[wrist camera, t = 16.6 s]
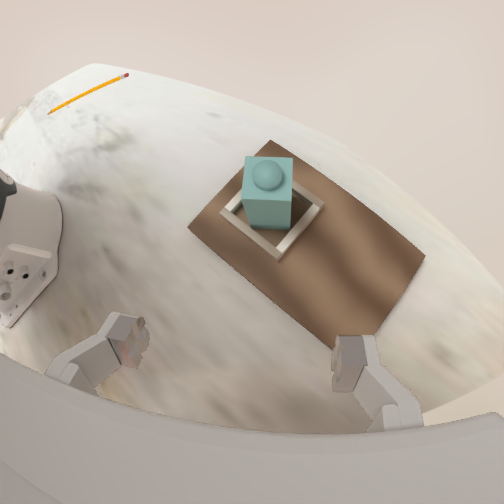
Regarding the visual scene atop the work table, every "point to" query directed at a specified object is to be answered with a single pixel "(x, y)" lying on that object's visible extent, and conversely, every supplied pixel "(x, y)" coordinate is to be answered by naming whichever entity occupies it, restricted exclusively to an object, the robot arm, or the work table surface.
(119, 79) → the pencil
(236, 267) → the brown board with frame
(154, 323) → the work table surface
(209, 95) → the work table surface
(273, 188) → the studded block
